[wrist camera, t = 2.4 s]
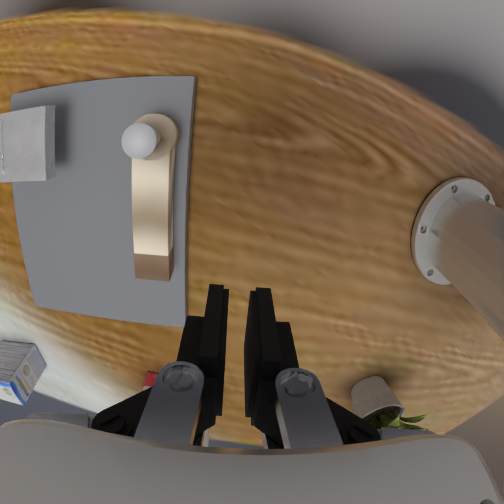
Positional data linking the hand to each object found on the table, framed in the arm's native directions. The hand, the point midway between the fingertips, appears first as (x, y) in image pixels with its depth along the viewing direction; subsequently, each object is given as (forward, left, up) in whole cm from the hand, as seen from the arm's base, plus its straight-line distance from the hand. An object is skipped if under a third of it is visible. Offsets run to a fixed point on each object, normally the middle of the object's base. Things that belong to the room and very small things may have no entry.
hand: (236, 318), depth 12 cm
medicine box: (+31, +25, -17) cm, 43 cm away
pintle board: (+14, +2, -17) cm, 22 cm away
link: (+7, 0, -15) cm, 17 cm away
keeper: (+20, -5, -16) cm, 26 cm away
